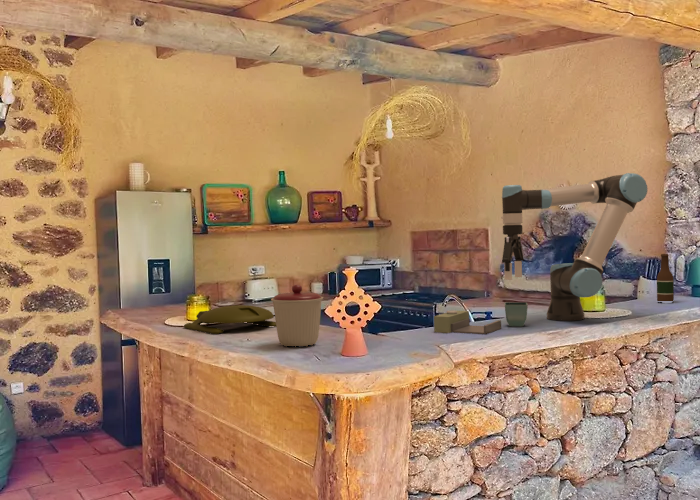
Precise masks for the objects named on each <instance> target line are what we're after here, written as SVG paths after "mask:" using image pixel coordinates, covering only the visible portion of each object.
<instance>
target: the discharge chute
mask: <svg viewBox="0 0 700 500" xmlns="http://www.w3.org/2000/svg"><path fill="white" fill-rule="evenodd" d="M470 323H471V322H470V318H469V319H465V320H462V321H458V322H455V323H452V324H451V333H453V334H454V333H457V334H458V333H459V334H471V333H472V335H489V334H491V333H494V332H497V331H499V330H501V329H502V320H500V319H499V320H495V321H492V322H490V323H487V324H484V325H473V324H472V325H470Z"/></svg>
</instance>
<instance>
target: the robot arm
mask: <svg viewBox="0 0 700 500" xmlns="http://www.w3.org/2000/svg"><path fill="white" fill-rule="evenodd" d="M501 190H502V192H501V201H502V205H501V206H502V216H501V219H502V224H503V226H502V234H503V235H506V236H505V237H504V244H503V245H504V246H503V251H502V258H501V263H502V264H503V266H504V270H503V271H504V273H503V274H504V280H506V281H507V280H508V281H512V280H513V263H512V257H513V256H514V278H522V277H523V266H522V265H523V262H524V261H525V259H524V258H525V257H524V253H523V247H522V239H521V238H522V236H519V235H523V225H522V224H523V211H526V210H544V209H550V208H551V207H556V206H566V205H573V204H581V203H591V204H592V205H593V204H606V205H605V207H604V209H603V211H602V213H601V215H600V218H599V220H598V222H597V223H596V226H595V227H594V230H593V231H592V234H591V236H590V238H589V240H588V243H587V245H586V246H585V248H584V250H583V252H582V254H581V255H580V257H577V258H575V260H574V262H572V263H571V262H569V263H567V262H566V263H559V264H558V263H557V264H556V263H555V264H552V265H551V266H550V270H549V271H550V272H549V278H550V302H549V305H548V309H547V311H546V319H548V320H551V321H552V320H553V321H560V322H561V321H563V322H565V321H569V322H570V321H571V322H572V321H574V322H575V321H582V319H583V320H584V319H585V312H584V308H583V306H582V302H581V299H580V298H590V297H594V296H595V295H596V294H598V293H599V291H601V289H602V287H603V279H602V278H603V272H604V269H603V264H604V262H605V260H606V257H607V255H608V254H609V251H610V249H611V247H612V245H613V244H614V241H615V239H616V237H617V236H618V233H619V231H620V229H621V227H622V226H623V223H624V220H625V219H626V217H627V215H628V214H630V213H631V212H634V210H635V207H636V206H637V203H640V202H642V201H643V200H644V199H645V198H646V197H647V194H648V190H649V189H648V185H647V182H646V180H645V178H644V177H643V176H641V175H640V174H638V173H632V172H627V173H624V174H618V175H611V176H607V177H603V178H600V179H597V180H590V181H589V182H588V183H583V184H575V185H568V186H560V187H559V186H558V187H552V188H543V189H523V188H522V185H521V184H509V185H503V187H502V189H501Z"/></svg>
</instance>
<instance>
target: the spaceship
mask: <svg viewBox="0 0 700 500" xmlns="http://www.w3.org/2000/svg"><path fill="white" fill-rule="evenodd" d="M195 317H196V319H195V320H194V321H192V322H188V323H187V322H186V323H184V324H183V329H186V328H187V330H191V329H192V330H191V331H195V330H197V331H196V332H200V331H201V333H205V332H206V334H210V333H211V335H220V334H219V333H222V334H223V333H224V329H223V328H221V327H216V326H215V327H214V326H210V324H240V323H241V324H245V323H244V322H247V323H253V324H258V325H263V326H262V327H264V326H276V321H272V320H271V319H273V318H275V314H274V313H273V312H272V311H270V310H269V309H266V308H264V307H260V306H255V305H244V304H238V305H236V304H235V305H233V304H232V305H226V306H220V307H216V308H213V309H212V308H211V309H209V310H201V311H199V312H198V313H197V315H196V316H195ZM247 323H246V324H247ZM204 324H205V325H204ZM253 324H252V325H253ZM258 325H257V326H258Z"/></svg>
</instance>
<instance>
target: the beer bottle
mask: <svg viewBox="0 0 700 500" xmlns="http://www.w3.org/2000/svg"><path fill="white" fill-rule="evenodd" d="M660 257H661V258H660V271H659V272H658V273H657V277H656V301H673V300H674V297H675V296H674V287H675V286H674V283H675V282H674V275H673V272H671V270H670V264H669V263H670V262H669V260H670V259H669V257H670V255H669V254H668V253H661V254H660Z"/></svg>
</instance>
